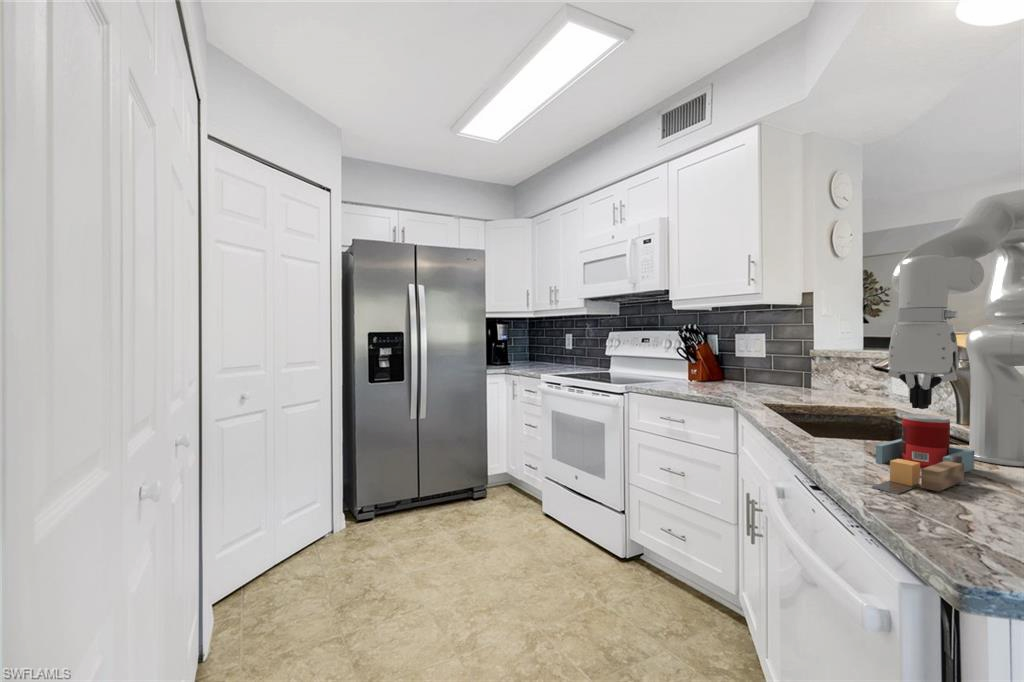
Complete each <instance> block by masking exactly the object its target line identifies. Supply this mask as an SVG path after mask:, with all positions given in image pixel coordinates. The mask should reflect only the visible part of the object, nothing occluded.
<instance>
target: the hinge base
mask: <svg viewBox="0 0 1024 682" xmlns="http://www.w3.org/2000/svg"><path fill="white" fill-rule="evenodd" d="M963 485H967V486H970V482H969V481H967V480H964V481H962V482H960V483H958V484H955V485H954V486H963Z"/></svg>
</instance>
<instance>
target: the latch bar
mask: <svg viewBox="0 0 1024 682" xmlns="http://www.w3.org/2000/svg"><path fill="white" fill-rule="evenodd" d="M964 479H965V472H964V463H962V457H961V456H957V455H950V457H949V460H946V461H943V462H941V463H938V464H935V465H932V466H929V467H926V468H921V469H920V484H921V486H920V487H921V489H922V488H923V489H927V490H931V491H935V492H941V491H942V490H945V489H947V488H951V487H953V486H956V485H955V484H958V483H960V482H962V481H964Z"/></svg>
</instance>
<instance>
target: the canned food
mask: <svg viewBox="0 0 1024 682" xmlns="http://www.w3.org/2000/svg"><path fill="white" fill-rule="evenodd" d="M901 417H902V418H901V419H902V420H901V439H902V458H901V459H903V460H908V461H913V462H918V463H920V469H923V468H926V467H929V466H932V465H935V464H938V463H941V462H943V457H945V456H948V455H949V448H950V447H951V446H950V445H951V438H950V437H951V434H950V433H951V420H950V418H949V417H946V416H942V415H934V414H925V413H924V414H923V413H903V414H902V416H901Z"/></svg>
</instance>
